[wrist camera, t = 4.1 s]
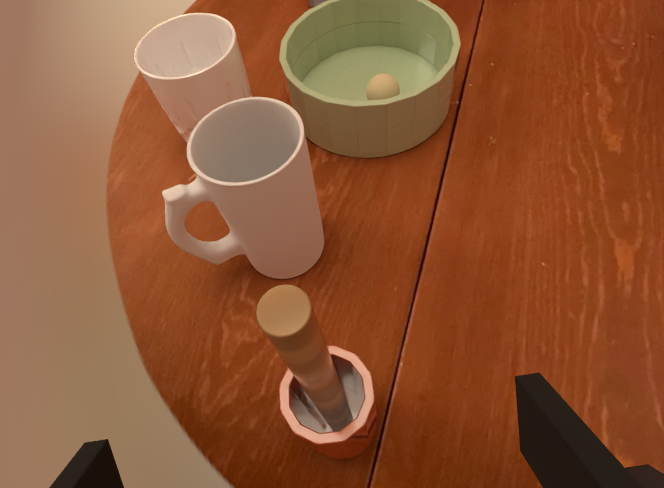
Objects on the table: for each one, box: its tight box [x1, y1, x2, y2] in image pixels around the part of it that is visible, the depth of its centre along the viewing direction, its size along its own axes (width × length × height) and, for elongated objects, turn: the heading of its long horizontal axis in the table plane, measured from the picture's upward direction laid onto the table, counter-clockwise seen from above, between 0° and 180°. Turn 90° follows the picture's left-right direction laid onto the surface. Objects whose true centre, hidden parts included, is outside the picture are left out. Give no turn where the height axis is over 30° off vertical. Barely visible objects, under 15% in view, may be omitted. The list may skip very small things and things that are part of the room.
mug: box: [162, 97, 324, 279], centre depth 30 cm, size 10×7×12 cm, turn 121°
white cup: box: [134, 13, 252, 144], centre depth 38 cm, size 8×8×10 cm
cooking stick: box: [256, 285, 353, 431], centre depth 20 cm, size 2×2×18 cm
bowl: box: [279, 0, 461, 158], centre depth 40 cm, size 15×15×6 cm
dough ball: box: [366, 73, 400, 100], centre depth 40 cm, size 3×3×3 cm
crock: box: [279, 345, 378, 460], centre depth 25 cm, size 5×5×8 cm
